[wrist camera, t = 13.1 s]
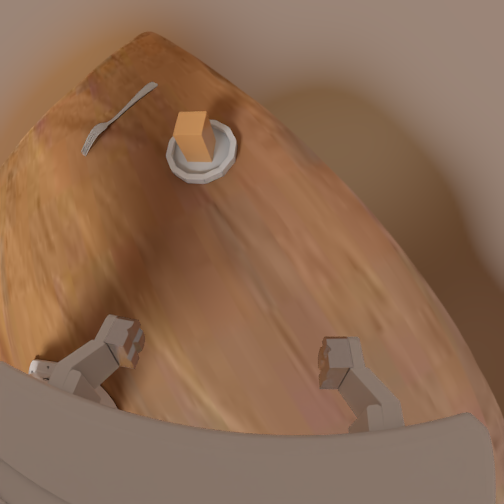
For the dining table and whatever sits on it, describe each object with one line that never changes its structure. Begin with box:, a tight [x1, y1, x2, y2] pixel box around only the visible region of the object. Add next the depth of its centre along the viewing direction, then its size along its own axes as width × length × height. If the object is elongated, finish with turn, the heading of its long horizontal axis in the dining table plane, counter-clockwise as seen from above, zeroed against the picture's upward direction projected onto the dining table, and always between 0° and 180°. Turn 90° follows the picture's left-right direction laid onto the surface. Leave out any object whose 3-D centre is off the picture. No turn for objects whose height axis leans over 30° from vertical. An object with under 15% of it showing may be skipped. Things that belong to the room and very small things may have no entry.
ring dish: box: [166, 120, 237, 184], centre depth 42 cm, size 11×11×2 cm
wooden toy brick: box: [173, 111, 216, 162], centre depth 39 cm, size 4×4×8 cm
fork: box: [81, 82, 158, 156], centre depth 46 cm, size 3×21×3 cm, turn 139°
